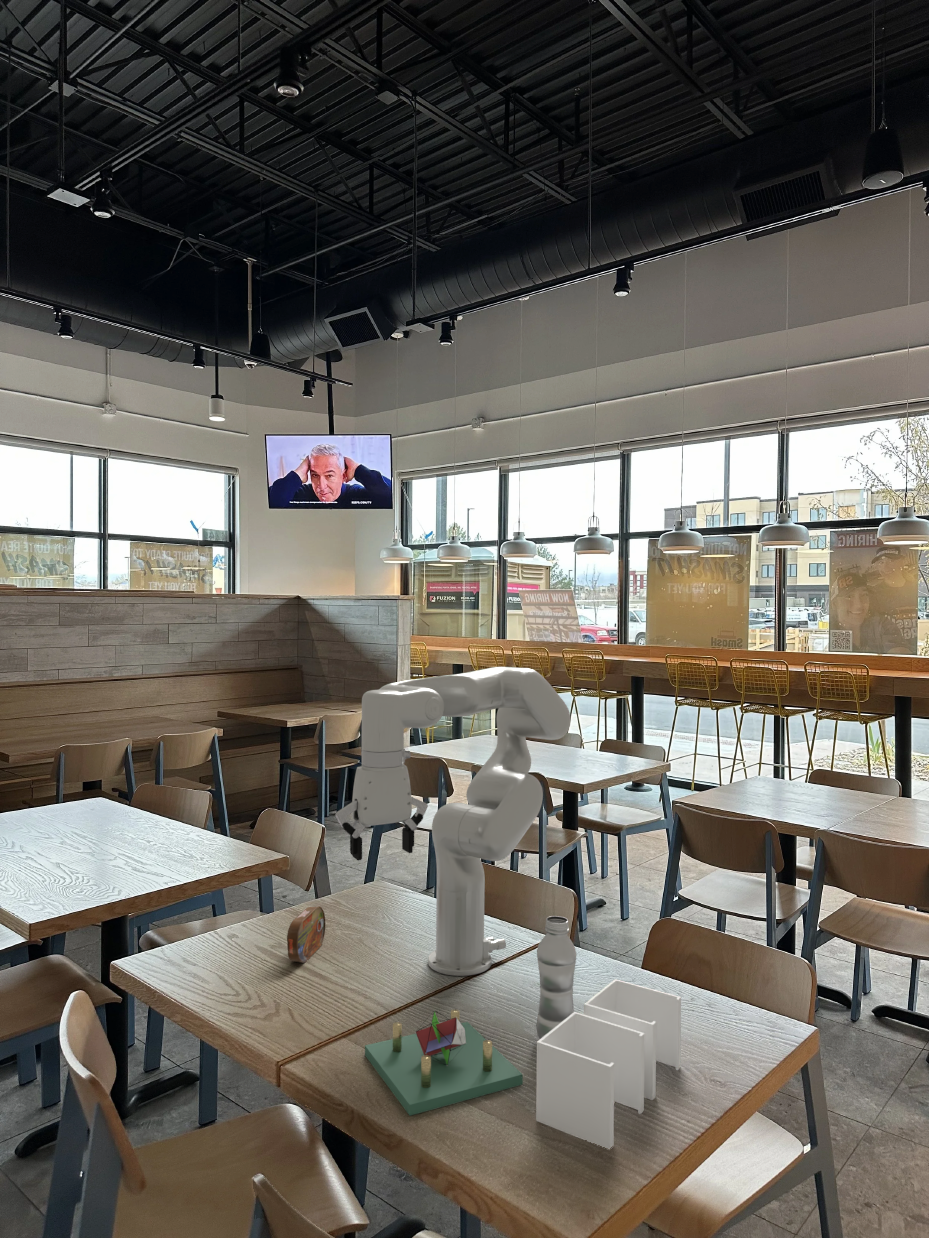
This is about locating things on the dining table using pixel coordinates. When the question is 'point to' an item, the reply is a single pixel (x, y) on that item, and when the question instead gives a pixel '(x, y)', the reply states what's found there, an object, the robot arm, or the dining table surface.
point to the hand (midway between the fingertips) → (382, 854)
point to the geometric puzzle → (441, 1037)
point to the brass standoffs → (427, 1059)
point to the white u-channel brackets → (606, 1059)
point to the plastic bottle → (555, 975)
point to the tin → (306, 934)
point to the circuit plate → (441, 1072)
